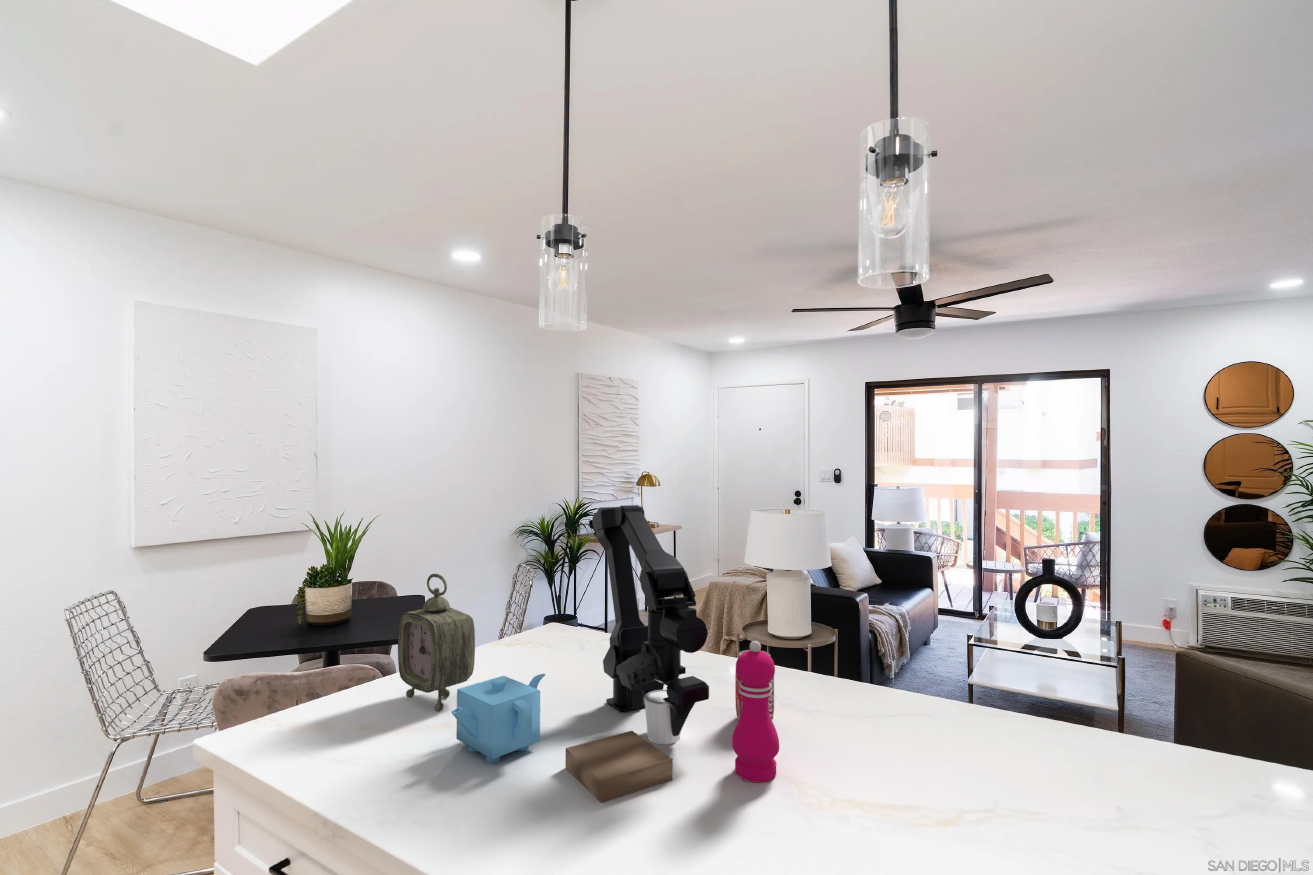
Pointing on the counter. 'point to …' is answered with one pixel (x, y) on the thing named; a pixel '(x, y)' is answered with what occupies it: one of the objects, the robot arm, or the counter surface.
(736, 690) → the soda can
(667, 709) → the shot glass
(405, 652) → the tabletop clock
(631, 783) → the walnut base block
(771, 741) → the pepper mill
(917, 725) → the counter surface
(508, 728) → the teapot
